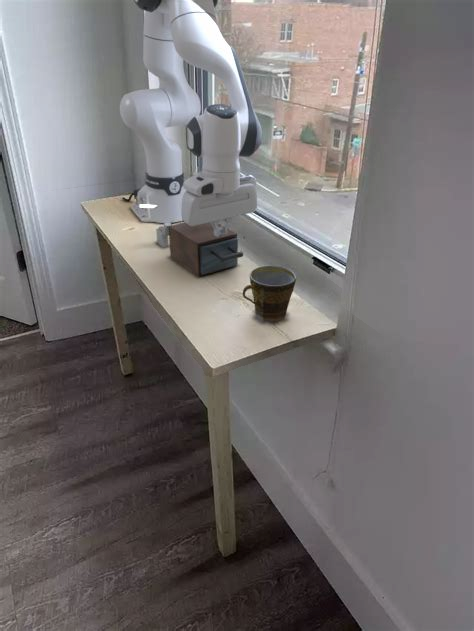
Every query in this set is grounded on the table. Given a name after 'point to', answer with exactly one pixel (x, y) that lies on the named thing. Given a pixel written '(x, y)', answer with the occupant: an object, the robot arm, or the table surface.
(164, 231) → the lighter
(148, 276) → the table surface
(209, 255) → the drawer
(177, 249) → the cabinet
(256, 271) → the ceramic cup
